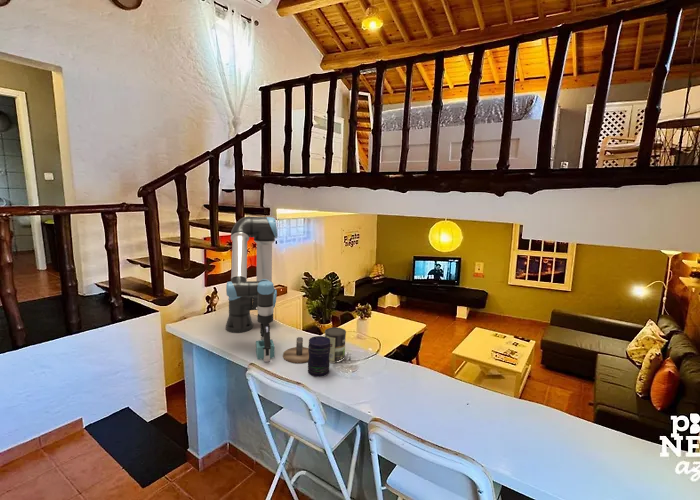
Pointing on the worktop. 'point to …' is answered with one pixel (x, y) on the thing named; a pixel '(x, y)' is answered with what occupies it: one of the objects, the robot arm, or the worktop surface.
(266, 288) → the robot arm
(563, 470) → the worktop surface
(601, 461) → the worktop surface
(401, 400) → the worktop surface
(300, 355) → the post stand
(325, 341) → the storage jar
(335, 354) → the coffee can
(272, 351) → the collar
